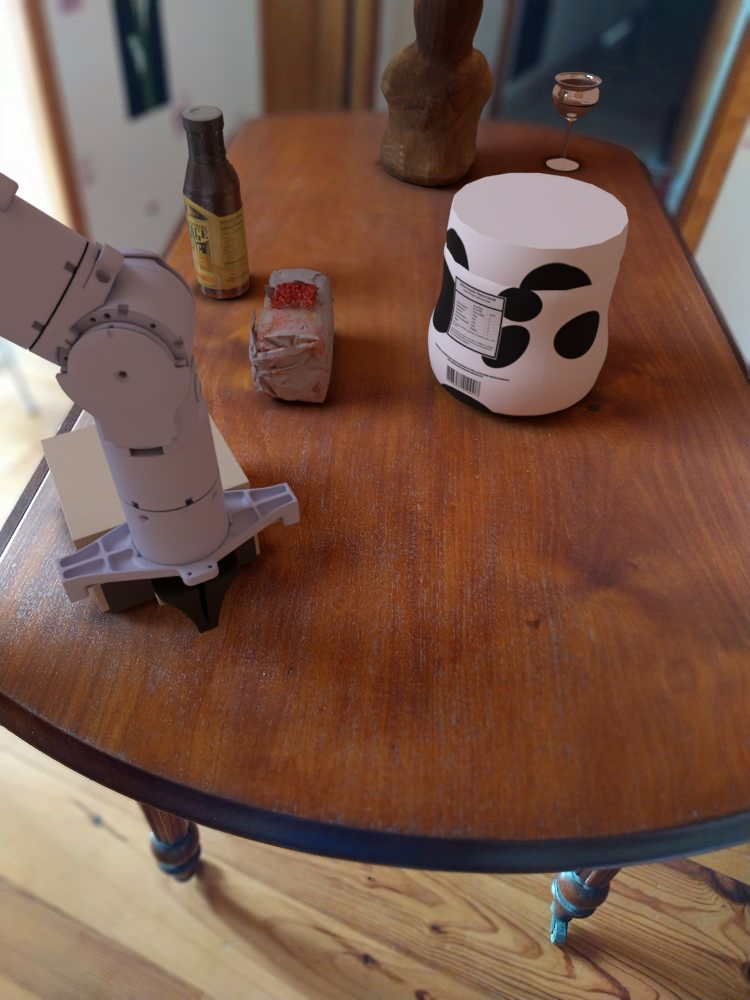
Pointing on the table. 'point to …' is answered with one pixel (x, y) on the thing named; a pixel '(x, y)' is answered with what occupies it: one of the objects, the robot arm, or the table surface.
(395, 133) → the ceramic vessel
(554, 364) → the milk container
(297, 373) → the food item
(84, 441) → the beige box-shaped shell
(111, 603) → the drawer
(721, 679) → the table surface
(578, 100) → the wineglass
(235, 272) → the sauce bottle
